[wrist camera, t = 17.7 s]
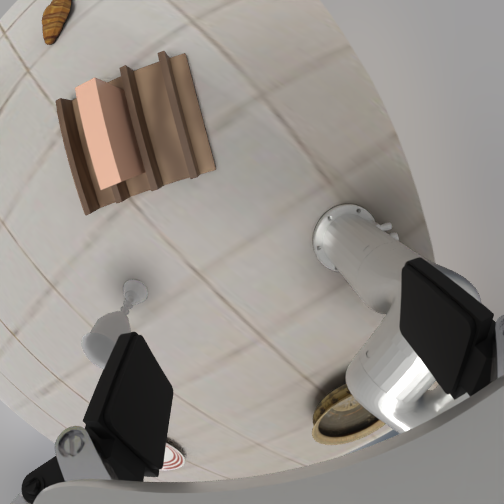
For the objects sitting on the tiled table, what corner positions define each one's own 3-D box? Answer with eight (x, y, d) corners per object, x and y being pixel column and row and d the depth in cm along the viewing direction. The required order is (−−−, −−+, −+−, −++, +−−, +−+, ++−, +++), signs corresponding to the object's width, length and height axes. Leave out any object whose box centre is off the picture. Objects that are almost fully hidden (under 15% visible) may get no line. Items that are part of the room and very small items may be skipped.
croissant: (66, 42, 32) (53, 35, 27) (40, 49, 31) (26, 44, 26) (84, -13, 27) (74, -23, 22) (57, -5, 26) (46, -13, 22)
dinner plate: (120, 458, 76) (119, 465, 72) (92, 418, 66) (90, 426, 62) (191, 466, 77) (191, 473, 74) (176, 428, 67) (175, 437, 64)
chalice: (112, 281, 49) (72, 338, 33) (140, 268, 49) (105, 327, 32) (131, 311, 52) (101, 375, 35) (159, 301, 52) (135, 366, 35)
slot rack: (186, 55, 36) (181, 45, 31) (216, 169, 44) (214, 172, 39) (60, 109, 37) (44, 107, 32) (88, 211, 44) (74, 220, 39)
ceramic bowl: (363, 419, 73) (373, 443, 64) (291, 426, 70) (297, 454, 61) (405, 348, 62) (423, 373, 53) (323, 352, 59) (336, 383, 50)
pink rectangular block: (126, 91, 36) (94, 77, 25) (148, 171, 41) (121, 181, 30) (110, 98, 36) (75, 88, 25) (131, 177, 41) (100, 190, 30)
